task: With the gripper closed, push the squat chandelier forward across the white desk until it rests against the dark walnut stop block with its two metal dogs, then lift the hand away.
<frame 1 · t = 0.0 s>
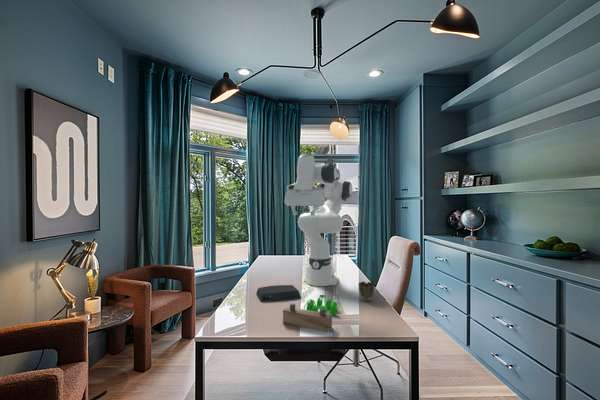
hand: (303, 215, 152), 39 cm above the table, tool pointing down, fingers open, 8 cm apart
cup: (366, 300, 144), on the table
chandelier: (321, 312, 130), on the table
walnut stop block: (307, 325, 116), on the table
external hard drive: (278, 297, 150), on the table
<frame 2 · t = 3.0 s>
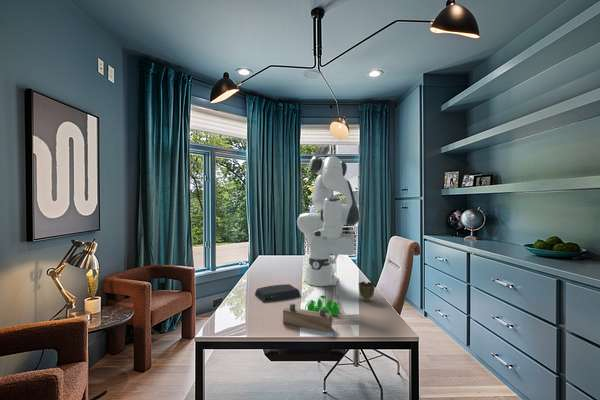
hand: (332, 263, 142), 18 cm above the table, tool pointing down, fingers closed
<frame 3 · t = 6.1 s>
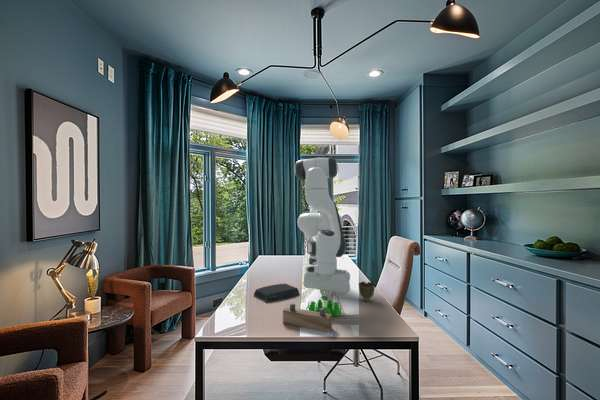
hand: (326, 300, 135), 3 cm above the table, tool pointing down, fingers closed, pressing on chandelier
chandelier: (323, 314, 128), on the table, touching gripper
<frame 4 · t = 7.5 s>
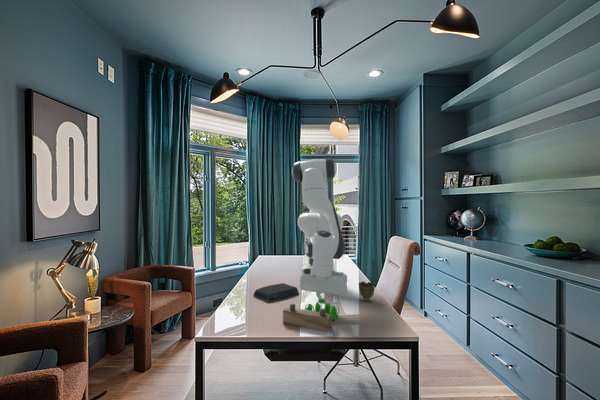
hand: (322, 303, 131), 3 cm above the table, tool pointing down, fingers closed, pressing on chandelier
chandelier: (320, 317, 124), on the table, touching gripper
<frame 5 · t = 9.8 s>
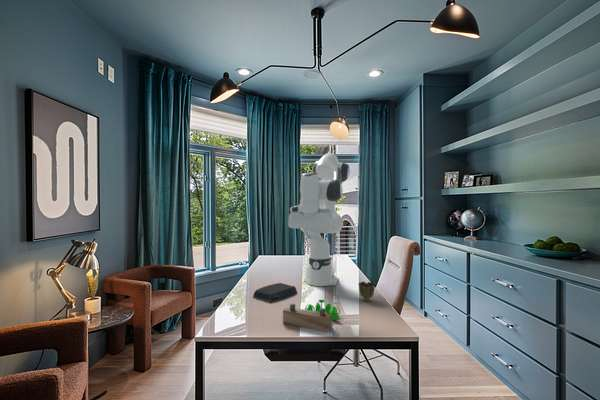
hand: (309, 239, 141), 29 cm above the table, tool pointing down, fingers closed
chandelier: (321, 318, 124), on the table
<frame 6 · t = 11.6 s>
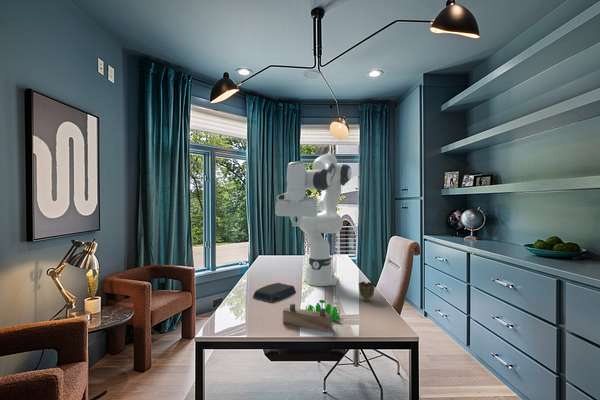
hand: (295, 226, 144), 34 cm above the table, tool pointing down, fingers closed
at the end: chandelier inside the target area (2.3 cm from its centre), on the table; chandelier tilted 0°; chandelier moved 6.7 cm from its start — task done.
